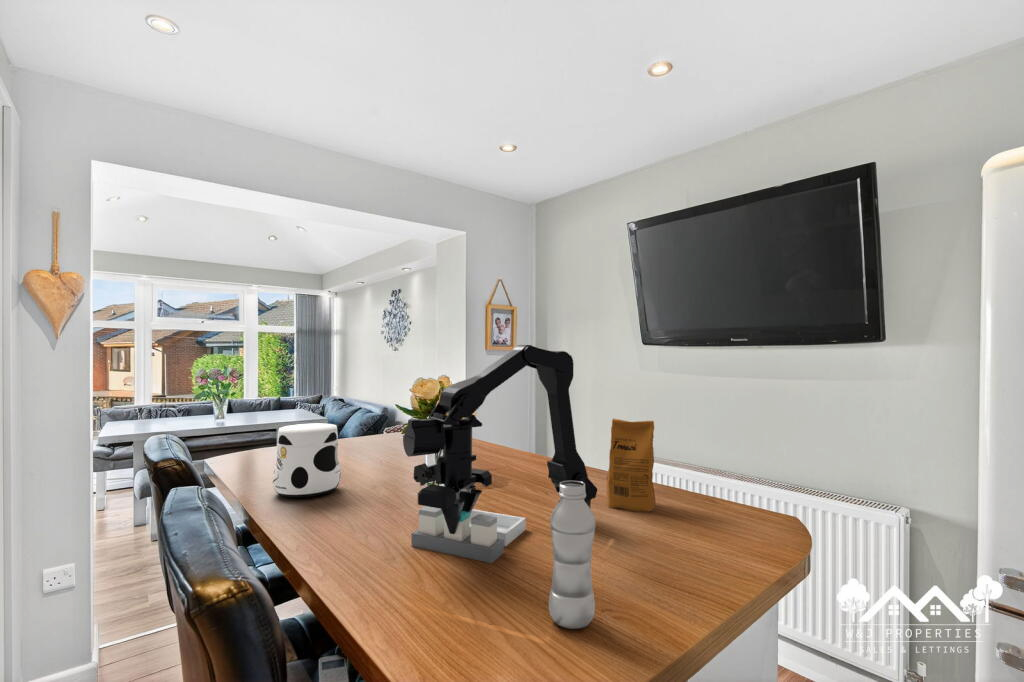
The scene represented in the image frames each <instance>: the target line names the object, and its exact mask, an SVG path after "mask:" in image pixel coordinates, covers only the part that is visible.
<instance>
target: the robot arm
mask: <svg viewBox="0 0 1024 682" xmlns="http://www.w3.org/2000/svg"><path fill="white" fill-rule="evenodd" d="M525 367H529V368H533V369H536V371H537V375H538V378H539V381H540V382H541V384H542V385H543V387H544V389H545V390H546V392H547V393H546V394H547V401H548V408H549V417H550V423H551V425H550V426H551V431H552V438H553V439H552V440H553V441H552V442H553V447H554V448H553V449H554V454H553V457H552V459H550V460H547V461H546V465H547V468H548V469H547V470H548V474H547V475H548V477H547V478H548V479H550V480H551V483H552V485H554V488H555V491H556V493H558V494H559V492H560V482H563V481H580V482H583V483H585V493H586V498H584V501H585V502H586V504H587V505H588V506H589V508H590V509H591V507H592V506H591V500H592V499H596V497H597V493H598V488H597V487H596V484H594V483H593V482H592V481H591V479H590V478H589V475H588V472H587V468H586V464H585V462H584V460H583V459H582V458H581V455H580V454H579V452H578V450H577V444H576V435H575V427H574V421H573V415H572V414H573V413H572V404H571V397H570V387H571V384H572V382H573V380H574V367H575V366H574V359H573V356H572V355H571V354H570V353H568V351H565V350H559V351H557V350H556V351H554V350H548V349H543V348H539V347H537V346H533V345H532V344H517V345H516V346H514V347H513V349H512V350H511V351H509V352H508V353H506V354H505V355H503V356H502V357H500V358H499V359H497V360H496V361H495V362H493V363H492V364H490V365H489V366H487V367H486V368H485V369H483V370H481V371H480V372H479V373H477V374H476V375H474V376H472V377H470V378H467V379H465V380H460V381H458V382H456V383H454V384H451V385H449V386H447V387H445V388H444V389H443V390H442V391H441V392H440V394H439V399H438V402H437V403H436V405H435V407H434V408H433V410H432V411H431V413H430V414H429V415H428V417H427V418H424V419H423V418H422V419H421V418H419V419H417V418H409V419H408V420H407V426H406V428H405V429H404V435H402V445H403V450H404V452H405V454H406V456H407V457H408V458H409V457H410V458H411V457H417V456H425V455H426V456H428V455H434V454H439V453H440V452H441V451H442V455H441V456H438V458H437V461H436V462H437V463H435V464H432V465H427V464H426V463H425V462H424V463H421V464H418V465H415V466H414V467H413V477H412V478H413V480H414V481H415V483H419V486H420V487H423V486H425V485H426V484H429V483H432V482H435V484H430V485H428V486H426V487H423V488H421V489H420V490H419V491H418V492H417V505H418V506H423V507H425V506H428V507H434V508H440V509H441V510H442V512H443V515H444V518H445V521H446V524H447V527H448V530H449V533H450V534H455V533H456V530H457V527H458V523H459V519H460V516H461V512H462V511H466V512H470V514H471V511H472V509H474V507H475V505H476V503H477V501H478V499H479V497H480V495H481V494H482V493H483V490H482V489H477V486H476V483H480V484H481V485H482V486H483V488H484V487H485V488H487V487H489V486H490V485H492V484H493V477H492V476H493V475H492V473H491V472H490V470H488V469H480V468H473V462H475V461H477V454H473V428H478V427H482V426H483V423H482V422H481V421H480V420H479V419H478V418H477V417H476V415H475V414H474V413H475V412H476V411H477V410H478V409H479V408H480V407H481V406H482V405H483V404H484V402H485V400H486V398H487V396H488V395H489V394H491V392H493V391H494V390H496V389H497V388H498V387H499V386H501V385H502V384H503V383H505V382H506V381H508V380H509V379H510V378H512V377H513V376H515V375H516V374H517V373H519V372H520V371H521V370H523V369H524V368H525ZM559 502H560V500H558V503H559Z"/></svg>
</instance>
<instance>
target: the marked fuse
mask: <svg viewBox="0 0 1024 682" xmlns="http://www.w3.org/2000/svg"><path fill="white" fill-rule="evenodd" d="M468 537H470V512H466V511H462V512H461V516H460V519H459V523H458V527H457V530H456V533H455V534H450V533H449V530H448V527H447V524H446V521H445V518H444V538H447V539H452V540H457V541H464V540H465V539H467V538H468Z"/></svg>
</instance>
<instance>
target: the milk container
mask: <svg viewBox="0 0 1024 682" xmlns="http://www.w3.org/2000/svg"><path fill="white" fill-rule="evenodd" d="M338 434H339V432H338V426H337V424H333V423H320V422H319V423H301V424H292V425H285V426H282V427H279V428H278V431H277V436H276V437H277V438H276V442H277V443H276V463H275V467H274V471H273V473H272V474H273V475H272V484H273V490H274V491H275V493H277V494H278V495H280V496H283V497H288V498H309V497H316V496H319V495H324V494H328V493H329V492H332V491H333V490H335V489H336V488H338V486H339V485H340V482H341V476H342V475H341V474H342V470H341V464H340V462H339V455H338V452H339V451H338V447H339V440H338V438H339V435H338Z"/></svg>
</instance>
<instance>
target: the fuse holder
mask: <svg viewBox="0 0 1024 682" xmlns="http://www.w3.org/2000/svg"><path fill="white" fill-rule="evenodd" d="M411 547H415V548H419V549H424V550H427V551H433V552H439V553H442V554H443V553H444V554H447V555H451V556H457V557H461V558H467V559H470V560H474V561H475V560H476V561H480V562H484V563H489V564H493V563H494V562H495V561H496V560H497V559H499V558H500V557H501V556H502V555H503V554H504V553H505V550H504V549H505V546H504V540H503V539H498V538H497V542H496V543H495V544H494V545H492V546H491V547H487V546H482V545H477V544H472V543H471V533H470V537H468V538H467V539H465V540H464V541H457V540H452V539H447V538H444V532H442V533H441V534H439V535H437V536H432V535H427V534H422V533H419V528H418V529H416V530H415V531H412V532H411Z"/></svg>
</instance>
